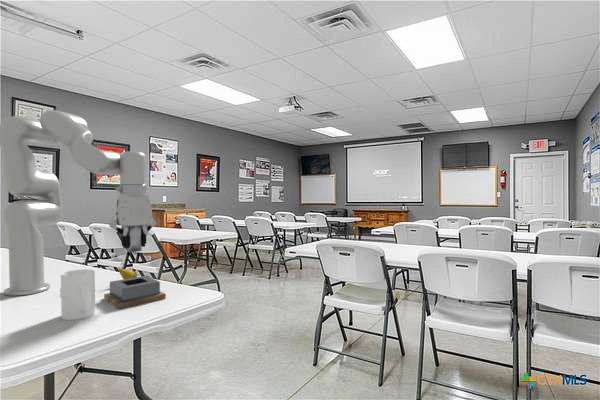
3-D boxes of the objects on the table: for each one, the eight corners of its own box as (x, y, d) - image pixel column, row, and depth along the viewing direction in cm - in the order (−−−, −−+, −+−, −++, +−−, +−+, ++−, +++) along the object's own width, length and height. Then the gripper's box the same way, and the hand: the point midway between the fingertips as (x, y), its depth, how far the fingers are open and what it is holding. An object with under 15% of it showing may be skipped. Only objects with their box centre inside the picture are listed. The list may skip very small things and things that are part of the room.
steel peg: (124, 250, 111) (124, 222, 111) (138, 249, 114) (138, 222, 114) (129, 252, 108) (129, 223, 108) (144, 250, 111) (143, 222, 111)
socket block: (109, 294, 112) (109, 281, 111) (145, 287, 120) (145, 275, 120) (122, 301, 104) (122, 288, 103) (159, 293, 112) (159, 281, 112)
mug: (69, 326, 89) (68, 280, 88) (57, 315, 97) (56, 272, 96) (104, 318, 95) (103, 274, 94) (90, 308, 103) (89, 268, 102)
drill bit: (140, 285, 130) (120, 270, 124) (129, 290, 131) (109, 276, 125) (144, 274, 134) (124, 259, 128) (133, 279, 135) (113, 264, 129)
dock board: (104, 298, 112) (104, 294, 112) (148, 289, 122) (148, 285, 122) (119, 309, 102) (119, 303, 102) (165, 298, 112) (165, 293, 112)
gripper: (108, 190, 102) (109, 251, 103) (164, 190, 114) (164, 245, 115) (100, 190, 107) (101, 249, 108) (154, 190, 119) (155, 243, 120)
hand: (134, 246), depth 111 cm, fingers closed on steel peg, 4 cm apart
